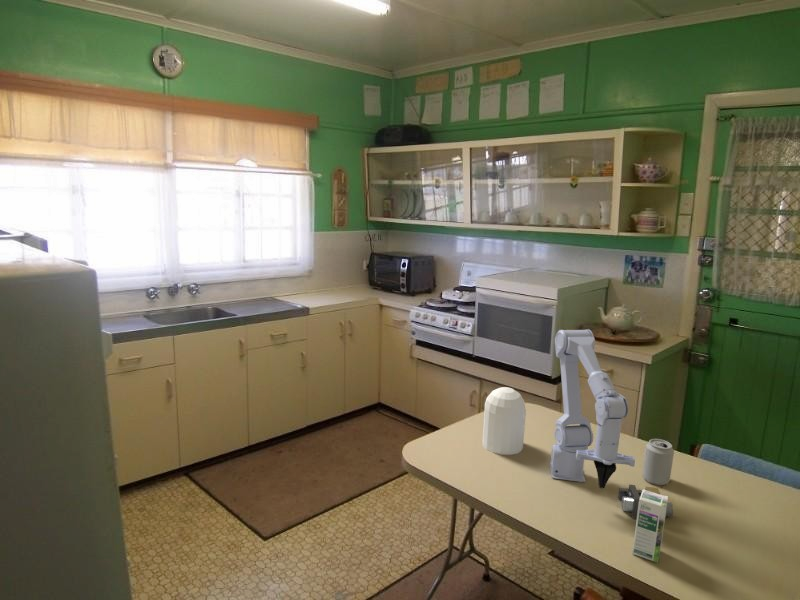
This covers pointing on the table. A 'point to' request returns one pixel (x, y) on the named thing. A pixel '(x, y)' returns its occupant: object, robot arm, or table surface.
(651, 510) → the syrup box
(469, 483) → the table surface
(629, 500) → the tube
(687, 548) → the table surface
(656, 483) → the can
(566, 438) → the robot arm
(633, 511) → the collar bracket
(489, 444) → the container
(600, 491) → the table surface
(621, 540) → the table surface
